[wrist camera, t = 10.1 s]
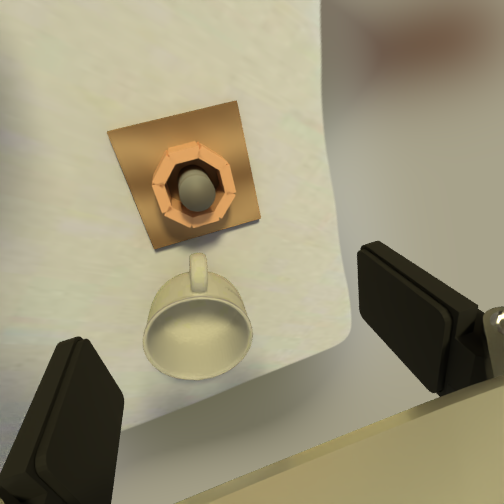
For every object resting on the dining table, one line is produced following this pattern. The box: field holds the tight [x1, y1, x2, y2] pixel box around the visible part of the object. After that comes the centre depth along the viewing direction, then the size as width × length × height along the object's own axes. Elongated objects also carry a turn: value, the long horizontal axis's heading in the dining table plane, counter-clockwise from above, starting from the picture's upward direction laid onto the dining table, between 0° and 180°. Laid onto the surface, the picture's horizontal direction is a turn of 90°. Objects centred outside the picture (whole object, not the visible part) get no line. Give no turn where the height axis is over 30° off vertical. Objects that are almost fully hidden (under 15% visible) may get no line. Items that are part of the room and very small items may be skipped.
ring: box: [152, 141, 236, 228], centre depth 29 cm, size 7×7×4 cm
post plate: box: [107, 101, 261, 249], centre depth 29 cm, size 12×12×6 cm
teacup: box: [143, 253, 253, 380], centre depth 33 cm, size 14×11×8 cm
